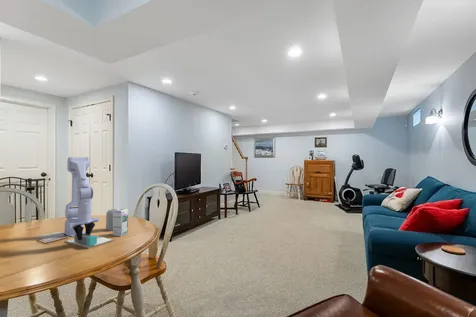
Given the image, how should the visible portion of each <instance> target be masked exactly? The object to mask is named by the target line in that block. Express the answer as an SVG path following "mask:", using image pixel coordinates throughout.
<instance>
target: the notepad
mask: <svg viewBox="0 0 476 317" xmlns="http://www.w3.org/2000/svg"><path fill="white" fill-rule="evenodd" d="M91 235H92V236H97V244H94V245H90V246H89V245H86V244H82V243H79V242H75V241H74V238H72V239H69V240H65V241H64V243H65V244H69V245H73V246H76V247H80V248H84V249H87V250H88V249H92V248H95V247H99V246H102V245H106V244H108V243H112V242H114V241H115V239H112V238H107V237H103V236H99V235H95V234H91Z"/></svg>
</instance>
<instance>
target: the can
mask: <svg viewBox="0 0 476 317" xmlns="http://www.w3.org/2000/svg"><path fill="white" fill-rule="evenodd" d="M113 210H117V208H114V209H108V210H107V211H106V217H105V219H106V220H105V229H106V231H108V232H109V231H111V232H113Z"/></svg>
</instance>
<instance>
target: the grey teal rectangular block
mask: <svg viewBox="0 0 476 317" xmlns="http://www.w3.org/2000/svg"><path fill="white" fill-rule="evenodd" d="M92 235H93V234H90V235H88V234H86V233H85V234H84V233H82V240H78V238H77V235H76V234H75V235H74V236H73V239H74V241H75V242H79V243H82V244H86V245H89V246H90V245H94V244H97V236H98V235H96V236H92Z"/></svg>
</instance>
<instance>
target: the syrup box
mask: <svg viewBox="0 0 476 317" xmlns="http://www.w3.org/2000/svg"><path fill="white" fill-rule="evenodd" d="M116 209H117V208H116ZM128 234H129V209H128V208H118V209H117V210H113V231H112V236H114V237H122V236H125V235H128Z"/></svg>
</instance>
